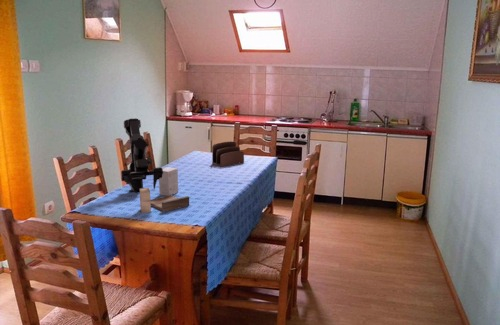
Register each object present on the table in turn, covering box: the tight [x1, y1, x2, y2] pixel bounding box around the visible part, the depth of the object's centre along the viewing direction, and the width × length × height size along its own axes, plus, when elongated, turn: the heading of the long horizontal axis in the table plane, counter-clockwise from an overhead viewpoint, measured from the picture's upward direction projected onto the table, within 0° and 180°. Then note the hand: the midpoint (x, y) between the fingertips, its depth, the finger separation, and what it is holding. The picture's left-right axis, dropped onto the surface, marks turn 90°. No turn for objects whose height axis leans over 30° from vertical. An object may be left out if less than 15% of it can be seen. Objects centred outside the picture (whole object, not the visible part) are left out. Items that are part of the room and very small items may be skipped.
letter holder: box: [211, 141, 245, 167], centre depth 287 cm, size 10×20×14 cm, turn 130°
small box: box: [158, 166, 179, 196], centre depth 220 cm, size 8×6×13 cm
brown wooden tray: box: [150, 195, 190, 213], centre depth 204 cm, size 16×14×4 cm
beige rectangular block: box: [139, 187, 152, 214], centre depth 194 cm, size 5×4×10 cm
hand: (144, 189), depth 195 cm, fingers open, 9 cm apart
